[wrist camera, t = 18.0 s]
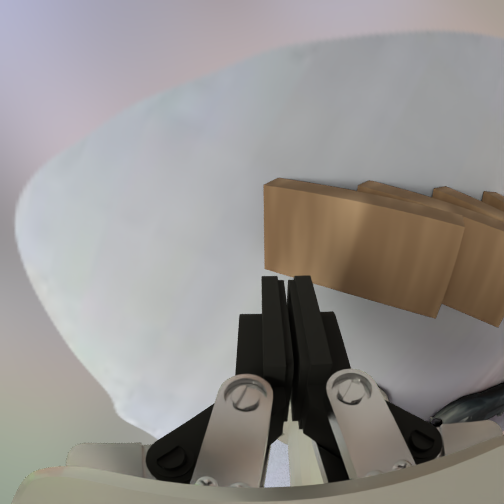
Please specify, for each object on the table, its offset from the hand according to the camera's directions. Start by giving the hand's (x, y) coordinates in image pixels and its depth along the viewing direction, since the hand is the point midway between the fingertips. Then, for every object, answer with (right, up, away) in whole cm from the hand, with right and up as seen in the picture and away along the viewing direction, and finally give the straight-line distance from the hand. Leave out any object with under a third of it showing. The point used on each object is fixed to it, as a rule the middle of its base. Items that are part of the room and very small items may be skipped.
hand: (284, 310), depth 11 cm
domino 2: (+5, +4, +6) cm, 9 cm away
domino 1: (0, +4, +6) cm, 7 cm away
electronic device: (+30, -20, +20) cm, 41 cm away
